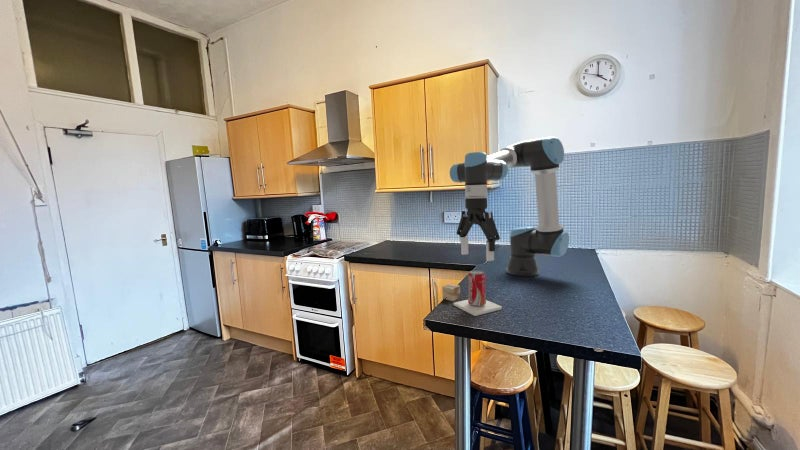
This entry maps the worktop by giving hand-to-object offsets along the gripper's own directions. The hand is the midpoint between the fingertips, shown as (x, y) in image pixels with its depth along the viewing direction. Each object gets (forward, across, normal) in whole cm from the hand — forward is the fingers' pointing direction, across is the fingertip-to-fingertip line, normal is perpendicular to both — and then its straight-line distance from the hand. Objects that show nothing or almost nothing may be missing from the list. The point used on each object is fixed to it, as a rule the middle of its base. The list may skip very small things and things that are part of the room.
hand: (476, 257), depth 113 cm
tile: (+18, 0, 0) cm, 18 cm away
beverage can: (+18, 0, 0) cm, 18 cm away
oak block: (+18, -13, -2) cm, 23 cm away
